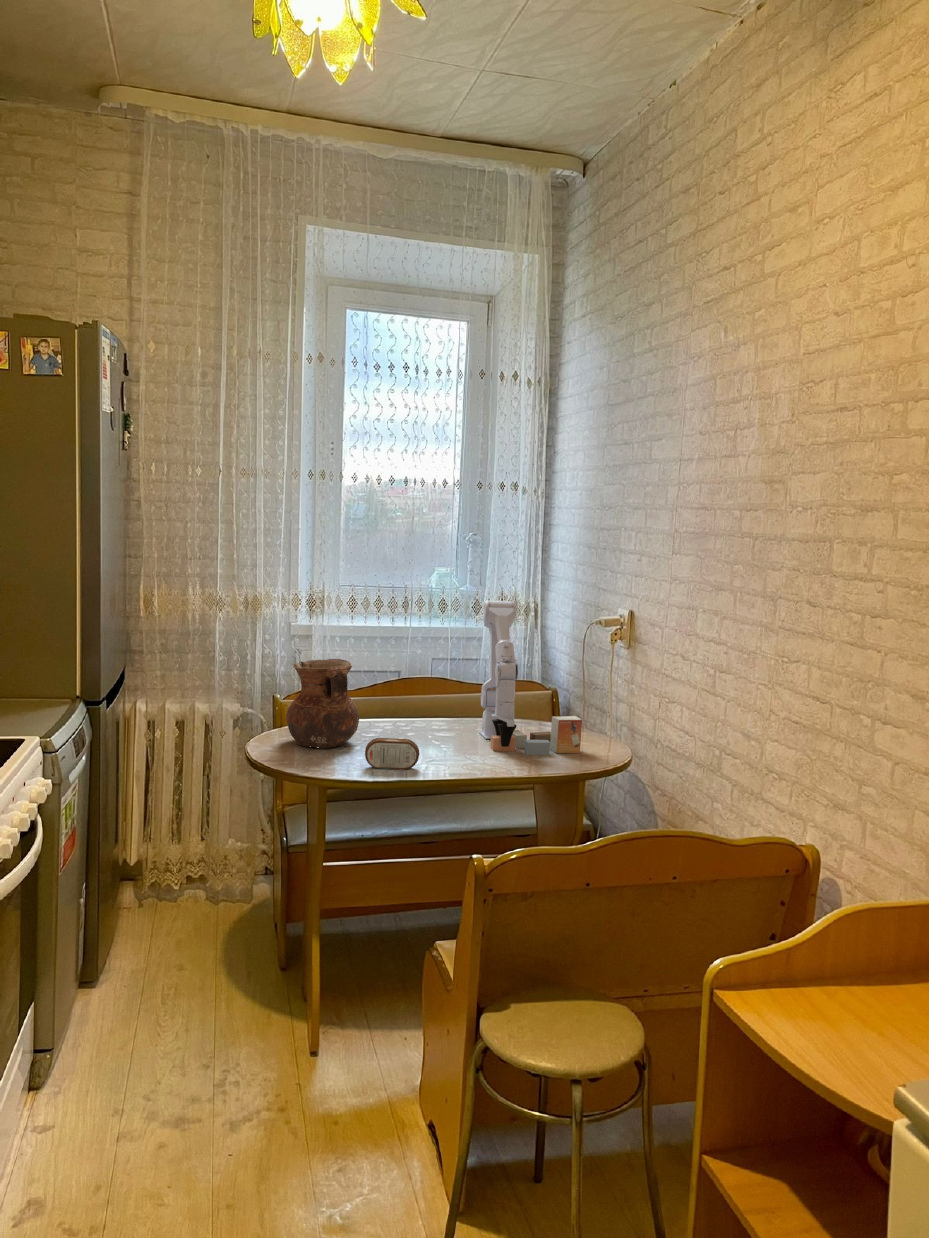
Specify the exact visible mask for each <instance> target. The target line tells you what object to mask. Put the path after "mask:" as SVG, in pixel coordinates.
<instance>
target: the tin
mask: <svg viewBox="0 0 929 1238" xmlns="http://www.w3.org/2000/svg"><path fill="white" fill-rule="evenodd" d="M364 756H365V760H366V762H367V763H368V765H369V766H370V767H372V768H374V769H377V768H390V769H389V770H400V769H404V770H405V769H406V770H410V769H412V768H413V767H414V766H416V764H417V763H418V761H419V757H420V749H419V747H418V745H417V743H416V742H415V741H413V740H411V739H409V738H396V737H395V738H394V737H393V738H391V737H375V738H373V739H371V740H370V741H369V742H368V743H367V745H366V746H365V751H364ZM404 770H403V771H404Z"/></svg>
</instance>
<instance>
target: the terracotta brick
mask: <svg viewBox="0 0 929 1238" xmlns="http://www.w3.org/2000/svg"><path fill="white" fill-rule="evenodd" d="M515 747H516V738H515V737H514V736H512V737H511V740H510V744H509V747H502V745H501V737H500V736H491V739H490V750H492V751H493V752H500V751H501V752H503V751H506V752H508V751H510V752H512V751H516V748H515ZM494 750H495V751H494Z"/></svg>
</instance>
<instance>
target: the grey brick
mask: <svg viewBox="0 0 929 1238" xmlns="http://www.w3.org/2000/svg"><path fill="white" fill-rule="evenodd" d="M512 736H514V737H515V738H516V747H515V749H521V748H523V749H525V740H528V738H527V737H528V735H527V734H526V733H524V732H522V731H520V730H518V729H515V730H514V732H513V734H512Z"/></svg>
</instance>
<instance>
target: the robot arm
mask: <svg viewBox="0 0 929 1238" xmlns="http://www.w3.org/2000/svg"><path fill="white" fill-rule="evenodd" d="M483 603H484V604H483V624H484V625H483V626H484V627H486V628H487V629H488V631H489V638H490V642H489V643H490V645H489V651H490V652H489V654H490V655H489V657H490V659H489V660H490V661H489V665H490V666H489V667H490V668H489V679H488V680H486V681H485V682H483V684H482V685H481V692H480V705H481V707H482V708H483V709H484V710H483V711H482V712H483V713H482V720H481V721H482V722H481V723H482V724H481V725H482V726H481V730H479V731H478V733H479V734H480V735H481V736H482V737H484V739H486V740H491V736H500V737H501V745H502V747H509V744H510V740H511V737H512V734H513V732H514V730H517V724H515V703H516V702H515V700H516V698H515V697H516V682H517V680H518V678H519V665H518V662H517V659H516V657H515V648H514V644H513V642H511V640H510V628H511V627H512V625H513V624H514V620H515V619H516V612H517V608H516V607H517V605H516V602H515V601H514V600H510V601H509V600H508V601H506V600H489V599H486V600H485V601H484V602H483Z"/></svg>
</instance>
